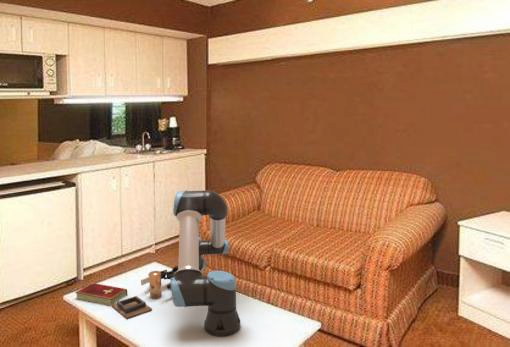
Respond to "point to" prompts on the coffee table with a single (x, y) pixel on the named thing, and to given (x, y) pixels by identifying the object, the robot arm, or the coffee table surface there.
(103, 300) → the hardcover book
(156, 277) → the brushed copper cylinder
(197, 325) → the coffee table surface
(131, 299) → the duct base
